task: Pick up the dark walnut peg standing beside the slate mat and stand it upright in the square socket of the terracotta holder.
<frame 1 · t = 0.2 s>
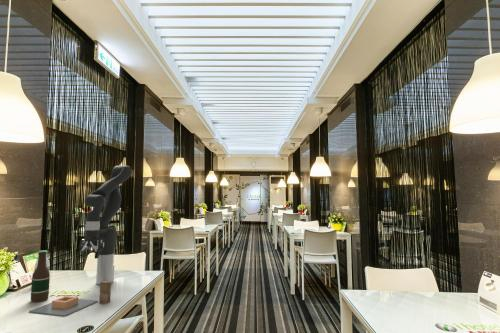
hand: (90, 258, 178), 17 cm above the table, tool pointing down, fingers open, 8 cm apart
socket holder: (65, 306, 148), on the table
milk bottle: (40, 285, 185), on the table
walnut peg: (104, 302, 154), on the table
beer bottle: (39, 300, 158), on the table
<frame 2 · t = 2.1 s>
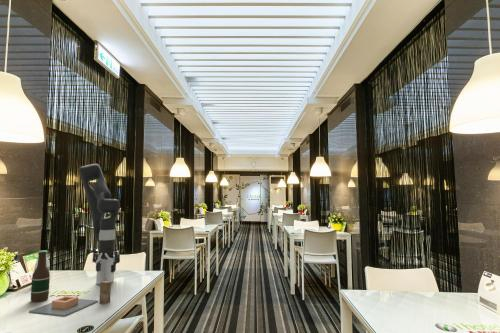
hand: (105, 271, 155), 15 cm above the table, tool pointing down, fingers open, 8 cm apart
nothing on the table moved.
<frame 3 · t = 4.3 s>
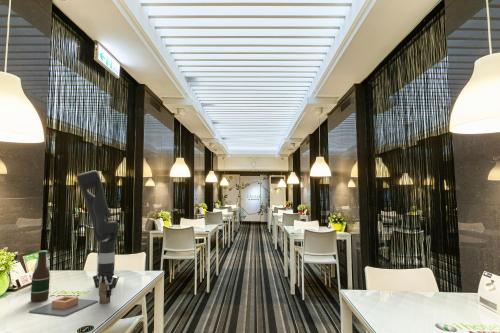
hand: (105, 296, 154), 3 cm above the table, tool pointing down, fingers closed on walnut peg, 3 cm apart
walnut peg: (104, 302, 154), on the table, touching gripper
everything else where it was.
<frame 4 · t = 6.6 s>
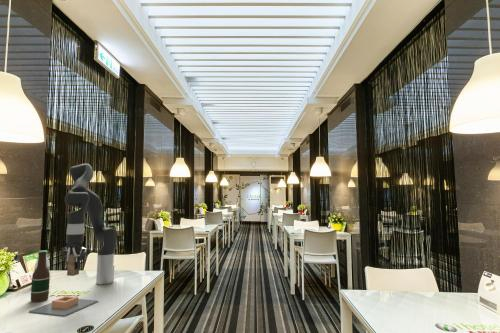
hand: (73, 269, 150), 17 cm above the table, tool pointing down, fingers closed on walnut peg, 3 cm apart
walnut peg: (73, 274, 150), point 15 cm above the table, touching gripper
everything else where it was.
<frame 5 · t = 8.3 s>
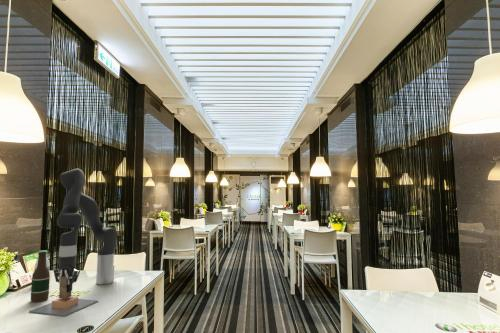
hand: (65, 291, 148), 7 cm above the table, tool pointing down, fingers closed on walnut peg, 3 cm apart
walnut peg: (65, 297, 148), point 4 cm above the table, touching gripper
everything else where it was.
when the fingers open (5 cm above the table, at t = 9.4 s): walnut peg drops 1 cm, resting on socket holder.
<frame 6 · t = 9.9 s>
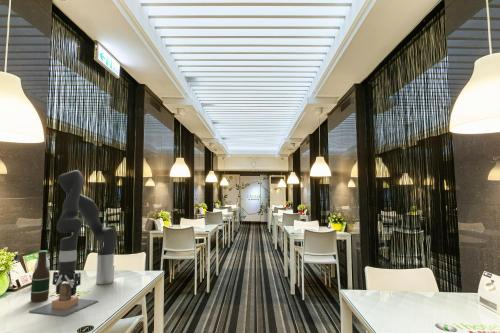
hand: (65, 294, 148), 6 cm above the table, tool pointing down, fingers open, 8 cm apart
walnut peg: (64, 305, 148), point 1 cm above the table, touching socket holder
everything else where it was.
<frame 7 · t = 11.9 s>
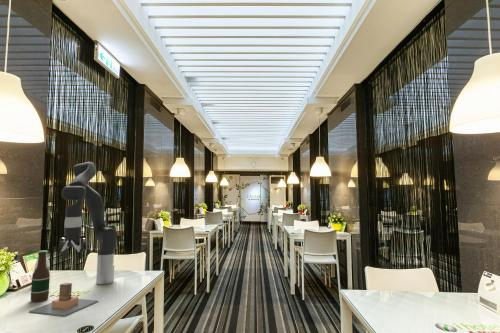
hand: (72, 259, 154), 21 cm above the table, tool pointing down, fingers open, 8 cm apart
nothing on the table moved.
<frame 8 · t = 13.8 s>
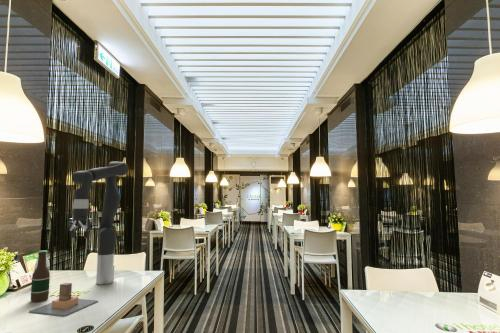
hand: (79, 238, 167), 30 cm above the table, tool pointing down, fingers open, 8 cm apart
nothing on the table moved.
at the end: walnut peg 0.2 cm off-centre on the socket holder, point 0.6 cm above the socket holder's base; walnut peg tilted 0°; the gripper is holding nothing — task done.
